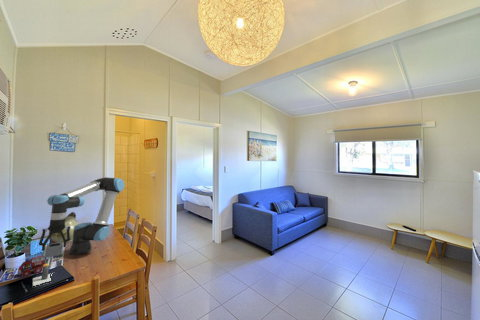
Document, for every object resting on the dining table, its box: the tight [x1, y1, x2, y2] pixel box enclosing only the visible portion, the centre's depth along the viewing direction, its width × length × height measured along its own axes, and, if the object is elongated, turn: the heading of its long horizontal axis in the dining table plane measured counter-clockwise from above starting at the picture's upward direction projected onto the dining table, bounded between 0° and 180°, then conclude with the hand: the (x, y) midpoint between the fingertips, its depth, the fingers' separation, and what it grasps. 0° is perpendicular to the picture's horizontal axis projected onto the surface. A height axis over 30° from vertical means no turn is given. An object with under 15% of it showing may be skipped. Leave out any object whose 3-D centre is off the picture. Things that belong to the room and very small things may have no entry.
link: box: [45, 242, 64, 259], centre depth 127 cm, size 8×8×6 cm
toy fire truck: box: [17, 254, 47, 278], centre depth 128 cm, size 7×12×10 cm, turn 138°
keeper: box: [32, 262, 54, 287], centre depth 121 cm, size 10×10×10 cm
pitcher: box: [48, 211, 80, 244], centre depth 181 cm, size 22×24×25 cm
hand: (53, 253), depth 127 cm, fingers closed on link, 7 cm apart
